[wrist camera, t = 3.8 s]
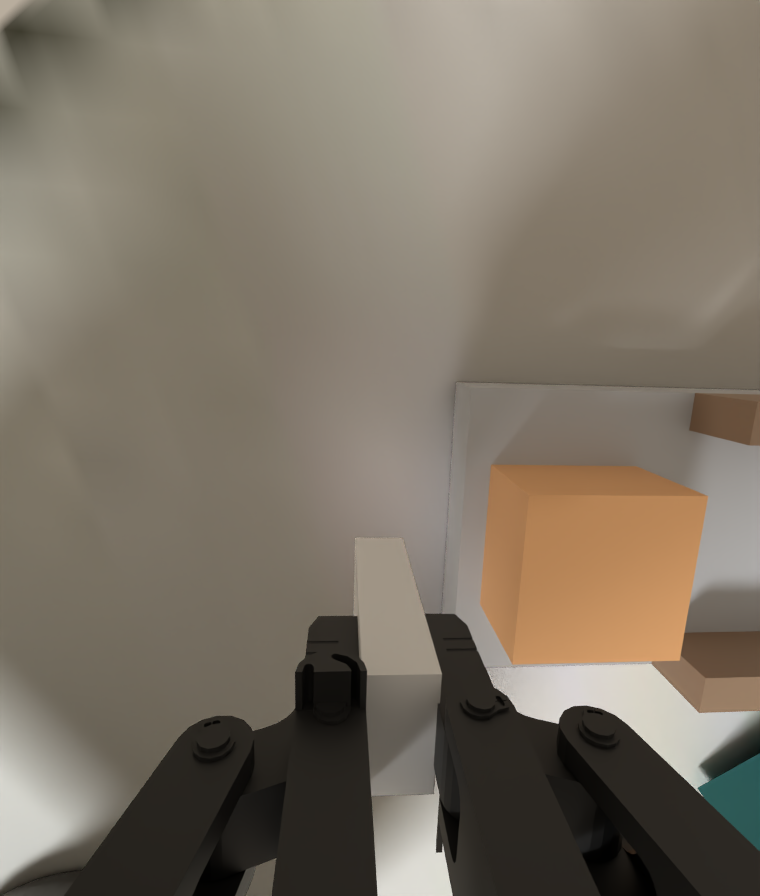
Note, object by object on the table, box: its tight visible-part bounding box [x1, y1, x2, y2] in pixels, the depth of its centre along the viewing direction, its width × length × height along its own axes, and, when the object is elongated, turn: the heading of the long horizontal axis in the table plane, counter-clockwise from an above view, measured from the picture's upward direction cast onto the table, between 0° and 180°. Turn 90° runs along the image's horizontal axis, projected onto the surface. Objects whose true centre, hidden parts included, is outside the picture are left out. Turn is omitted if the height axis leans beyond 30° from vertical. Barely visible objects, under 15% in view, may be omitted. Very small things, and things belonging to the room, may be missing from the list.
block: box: [480, 465, 708, 665], centre depth 18 cm, size 6×6×4 cm
